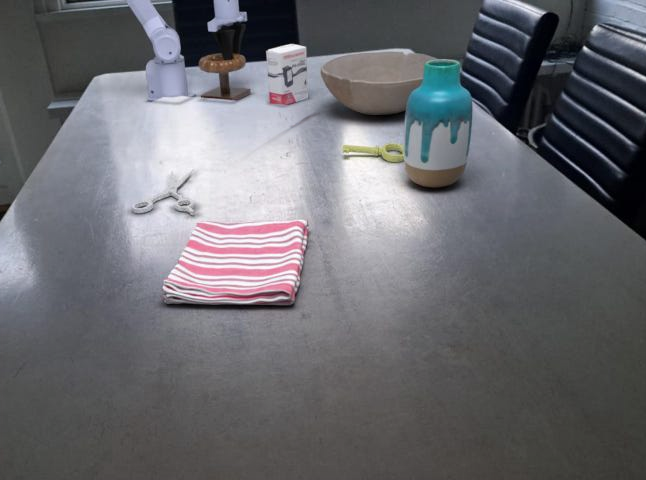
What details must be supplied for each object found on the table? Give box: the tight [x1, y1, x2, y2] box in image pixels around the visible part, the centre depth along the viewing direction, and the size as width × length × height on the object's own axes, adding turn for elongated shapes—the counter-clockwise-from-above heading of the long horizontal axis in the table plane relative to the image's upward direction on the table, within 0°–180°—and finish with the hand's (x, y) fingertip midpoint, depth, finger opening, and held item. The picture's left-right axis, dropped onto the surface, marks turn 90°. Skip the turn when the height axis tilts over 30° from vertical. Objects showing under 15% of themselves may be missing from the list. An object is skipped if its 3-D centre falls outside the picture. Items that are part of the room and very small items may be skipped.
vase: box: [403, 58, 473, 188], centre depth 110 cm, size 11×11×19 cm
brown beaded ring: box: [198, 52, 247, 74], centre depth 164 cm, size 11×11×3 cm
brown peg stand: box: [199, 72, 252, 101], centre depth 168 cm, size 9×9×6 cm
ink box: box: [265, 43, 309, 106], centre depth 160 cm, size 8×5×12 cm, turn 134°
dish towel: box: [161, 218, 310, 306], centre depth 93 cm, size 17×23×4 cm
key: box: [342, 142, 404, 163], centre depth 127 cm, size 7×12×2 cm, turn 102°
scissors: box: [131, 170, 195, 216], centre depth 117 cm, size 11×1×20 cm
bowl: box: [320, 51, 438, 116], centre depth 149 cm, size 26×26×10 cm
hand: (231, 58), depth 167 cm, fingers closed on brown beaded ring, 3 cm apart
